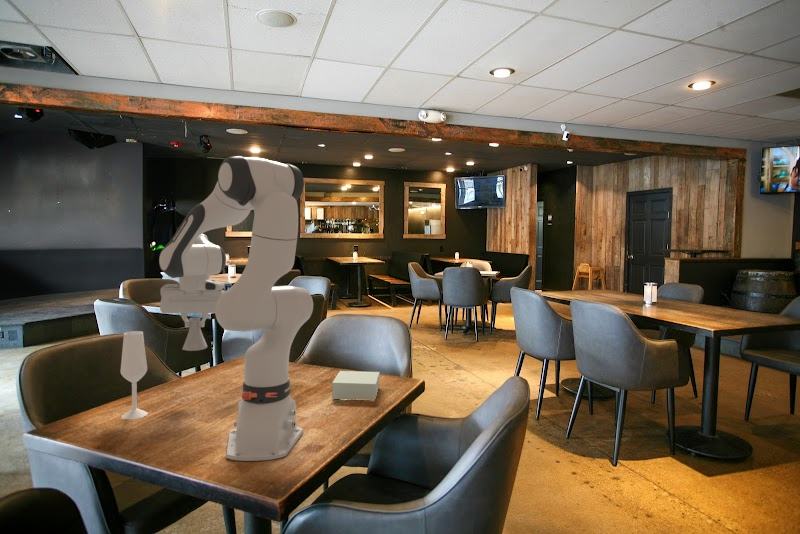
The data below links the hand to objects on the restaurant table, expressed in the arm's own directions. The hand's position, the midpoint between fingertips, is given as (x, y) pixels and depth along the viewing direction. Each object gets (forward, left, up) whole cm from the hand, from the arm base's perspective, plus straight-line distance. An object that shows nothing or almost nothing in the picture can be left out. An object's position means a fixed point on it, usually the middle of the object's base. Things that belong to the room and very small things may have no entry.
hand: (194, 326), depth 151 cm
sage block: (0, -52, -23) cm, 57 cm away
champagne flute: (-16, +12, -23) cm, 30 cm away
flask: (0, 0, -7) cm, 7 cm away
